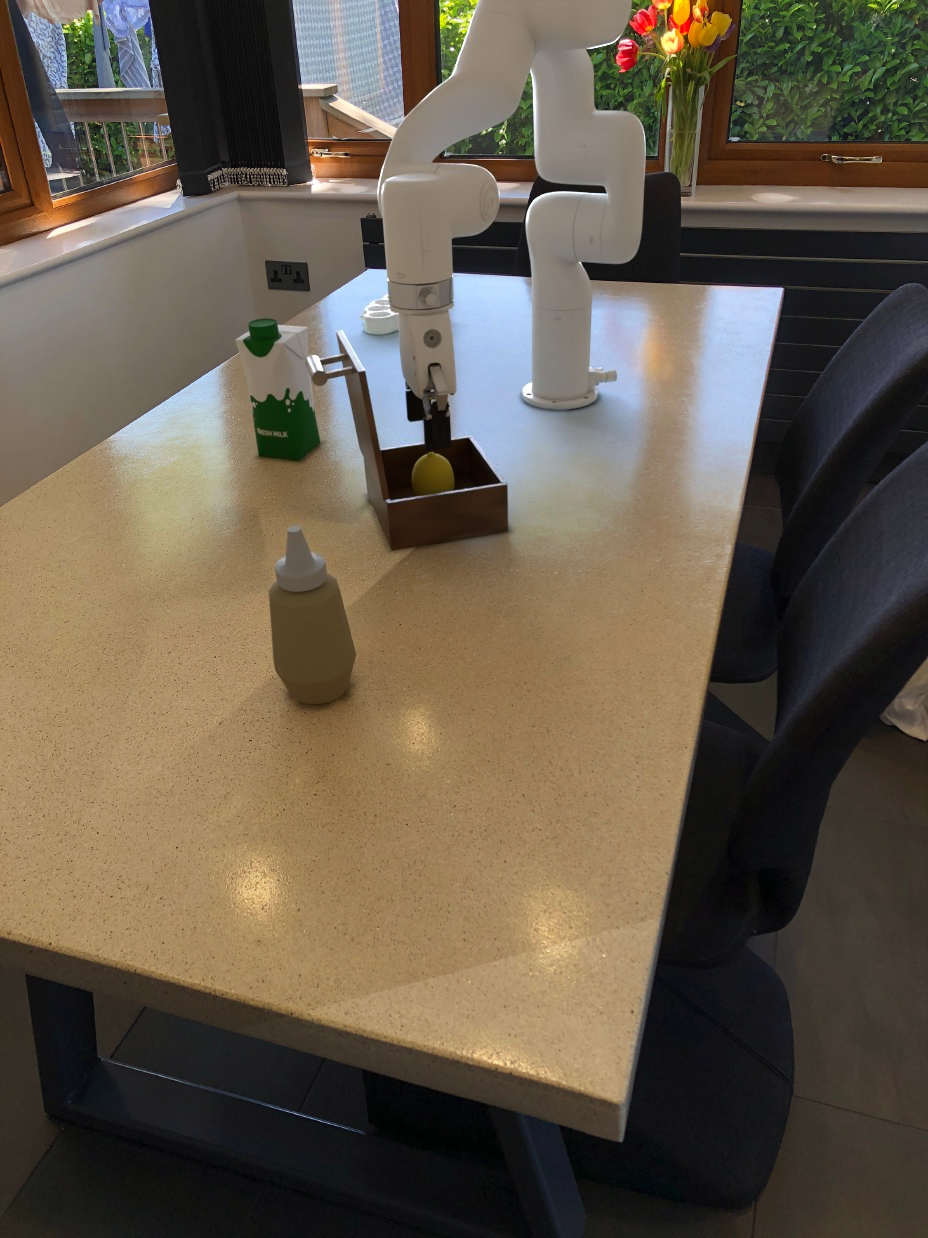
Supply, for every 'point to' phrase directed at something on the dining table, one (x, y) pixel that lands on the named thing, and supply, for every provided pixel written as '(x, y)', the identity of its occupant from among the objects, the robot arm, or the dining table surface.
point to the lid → (354, 404)
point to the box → (439, 497)
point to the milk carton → (279, 389)
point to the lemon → (432, 475)
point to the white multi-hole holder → (380, 317)
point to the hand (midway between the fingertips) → (428, 433)
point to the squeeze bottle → (309, 626)
